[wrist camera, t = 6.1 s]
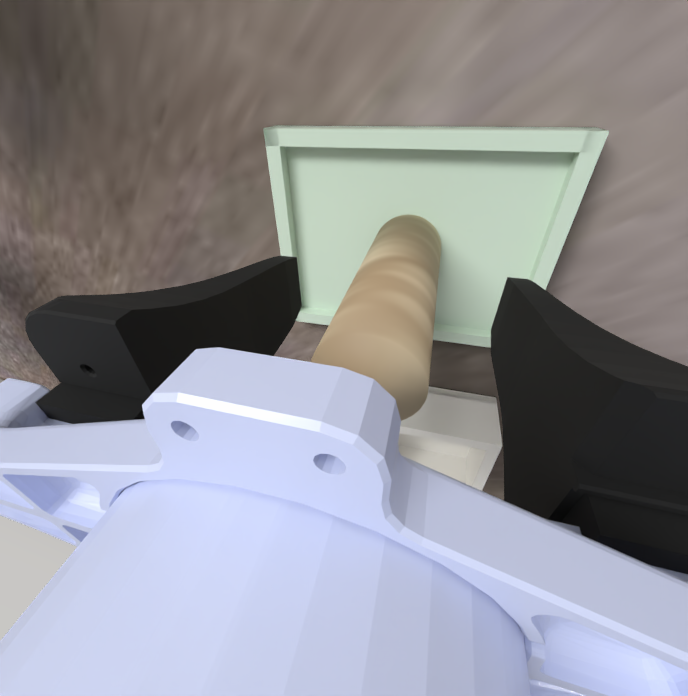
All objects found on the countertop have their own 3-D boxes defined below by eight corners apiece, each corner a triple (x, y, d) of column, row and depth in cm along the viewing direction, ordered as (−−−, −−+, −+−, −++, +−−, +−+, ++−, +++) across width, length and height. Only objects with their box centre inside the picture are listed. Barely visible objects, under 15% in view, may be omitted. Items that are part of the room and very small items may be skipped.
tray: (597, 127, 11) (609, 130, 11) (517, 337, 17) (520, 351, 16) (275, 125, 14) (263, 128, 13) (297, 309, 20) (289, 320, 19)
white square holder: (496, 397, 20) (502, 446, 17) (472, 458, 24) (474, 505, 21) (392, 380, 21) (382, 422, 18) (385, 440, 25) (377, 482, 22)
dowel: (445, 215, 14) (435, 341, 7) (437, 280, 16) (422, 432, 9) (374, 214, 15) (302, 327, 8) (374, 276, 16) (316, 414, 10)
